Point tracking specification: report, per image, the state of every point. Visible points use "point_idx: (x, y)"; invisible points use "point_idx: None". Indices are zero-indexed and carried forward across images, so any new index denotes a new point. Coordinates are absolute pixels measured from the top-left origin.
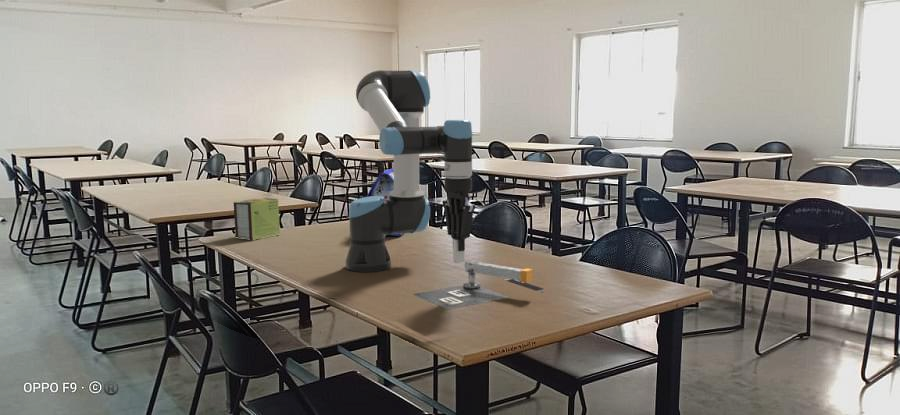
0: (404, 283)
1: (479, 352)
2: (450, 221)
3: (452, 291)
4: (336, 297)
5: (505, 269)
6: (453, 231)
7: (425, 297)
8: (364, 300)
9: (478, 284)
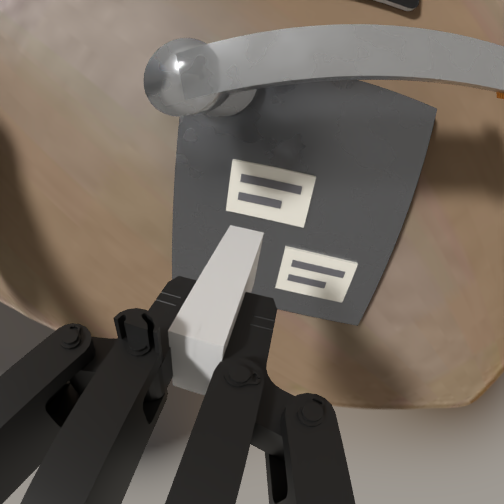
0: (54, 192)
1: (485, 387)
2: (34, 451)
3: (233, 193)
4: None
5: (450, 81)
6: (148, 436)
7: None
8: None
9: None
